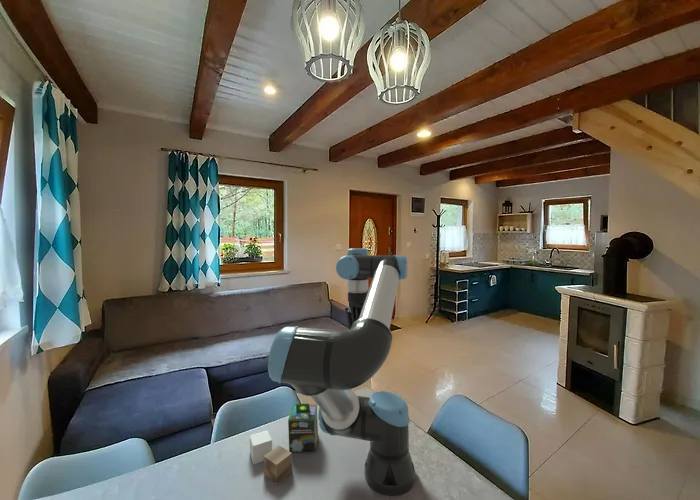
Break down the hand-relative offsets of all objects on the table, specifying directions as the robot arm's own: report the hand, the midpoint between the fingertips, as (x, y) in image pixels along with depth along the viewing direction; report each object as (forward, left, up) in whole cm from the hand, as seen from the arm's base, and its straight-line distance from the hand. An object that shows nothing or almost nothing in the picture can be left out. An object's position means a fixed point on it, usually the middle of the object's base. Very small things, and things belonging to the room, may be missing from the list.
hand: (358, 355), depth 108 cm
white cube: (+13, +32, -30) cm, 45 cm away
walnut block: (+2, +31, -30) cm, 43 cm away
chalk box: (+9, +18, -30) cm, 36 cm away
